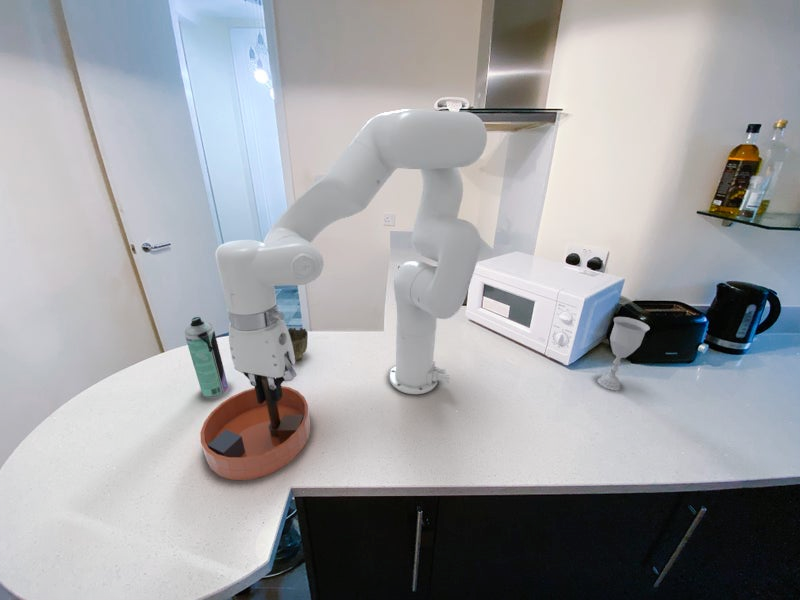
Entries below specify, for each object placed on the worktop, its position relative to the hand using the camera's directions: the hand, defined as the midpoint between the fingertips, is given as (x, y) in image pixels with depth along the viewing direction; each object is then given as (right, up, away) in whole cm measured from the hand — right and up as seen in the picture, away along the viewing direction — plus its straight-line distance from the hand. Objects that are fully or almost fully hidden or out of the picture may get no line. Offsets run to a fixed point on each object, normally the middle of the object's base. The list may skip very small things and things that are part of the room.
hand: (270, 399), depth 61 cm
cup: (-4, +3, +29) cm, 30 cm away
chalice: (+80, -3, +22) cm, 83 cm away
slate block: (-7, -10, -1) cm, 13 cm away
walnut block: (+3, -9, +3) cm, 10 cm away
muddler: (0, -8, +4) cm, 9 cm away
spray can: (-20, -3, +15) cm, 25 cm away
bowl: (-3, -9, +3) cm, 10 cm away
